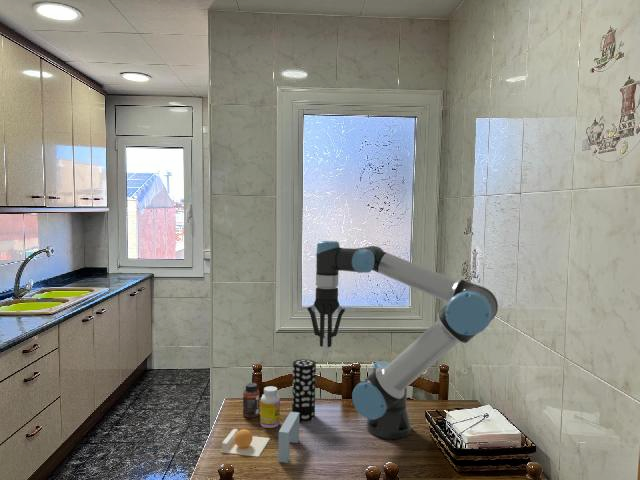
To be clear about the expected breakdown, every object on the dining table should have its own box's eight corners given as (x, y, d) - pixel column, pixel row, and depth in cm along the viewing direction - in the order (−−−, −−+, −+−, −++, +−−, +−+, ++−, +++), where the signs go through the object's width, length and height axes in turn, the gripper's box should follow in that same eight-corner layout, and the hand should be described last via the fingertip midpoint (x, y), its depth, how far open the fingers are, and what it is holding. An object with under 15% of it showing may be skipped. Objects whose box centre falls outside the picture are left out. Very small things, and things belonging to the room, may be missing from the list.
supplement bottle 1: (261, 416, 172) (262, 385, 172) (246, 419, 169) (247, 388, 168) (255, 410, 177) (255, 380, 177) (240, 413, 174) (240, 383, 173)
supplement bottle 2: (276, 429, 162) (276, 393, 161) (257, 427, 163) (258, 391, 162) (281, 421, 168) (282, 386, 168) (263, 419, 170) (264, 384, 169)
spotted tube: (319, 415, 174) (320, 362, 173) (306, 423, 167) (307, 368, 166) (300, 410, 178) (301, 357, 177) (287, 417, 171) (288, 363, 170)
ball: (237, 441, 152) (253, 444, 152) (231, 449, 147) (248, 452, 146) (238, 425, 152) (255, 427, 151) (233, 432, 147) (250, 435, 146)
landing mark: (269, 438, 155) (269, 438, 155) (258, 457, 144) (258, 456, 144) (235, 434, 158) (235, 434, 157) (221, 452, 146) (221, 451, 146)
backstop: (237, 436, 156) (237, 429, 156) (226, 451, 146) (226, 443, 146) (233, 436, 157) (233, 428, 156) (221, 450, 147) (221, 442, 147)
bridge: (298, 440, 155) (299, 412, 154) (287, 462, 141) (288, 432, 140) (290, 439, 155) (290, 411, 155) (278, 461, 141) (278, 431, 141)
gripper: (347, 286, 161) (345, 354, 163) (309, 284, 163) (308, 351, 165) (345, 289, 154) (343, 360, 155) (305, 287, 156) (304, 358, 157)
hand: (325, 356), depth 160 cm, fingers closed
